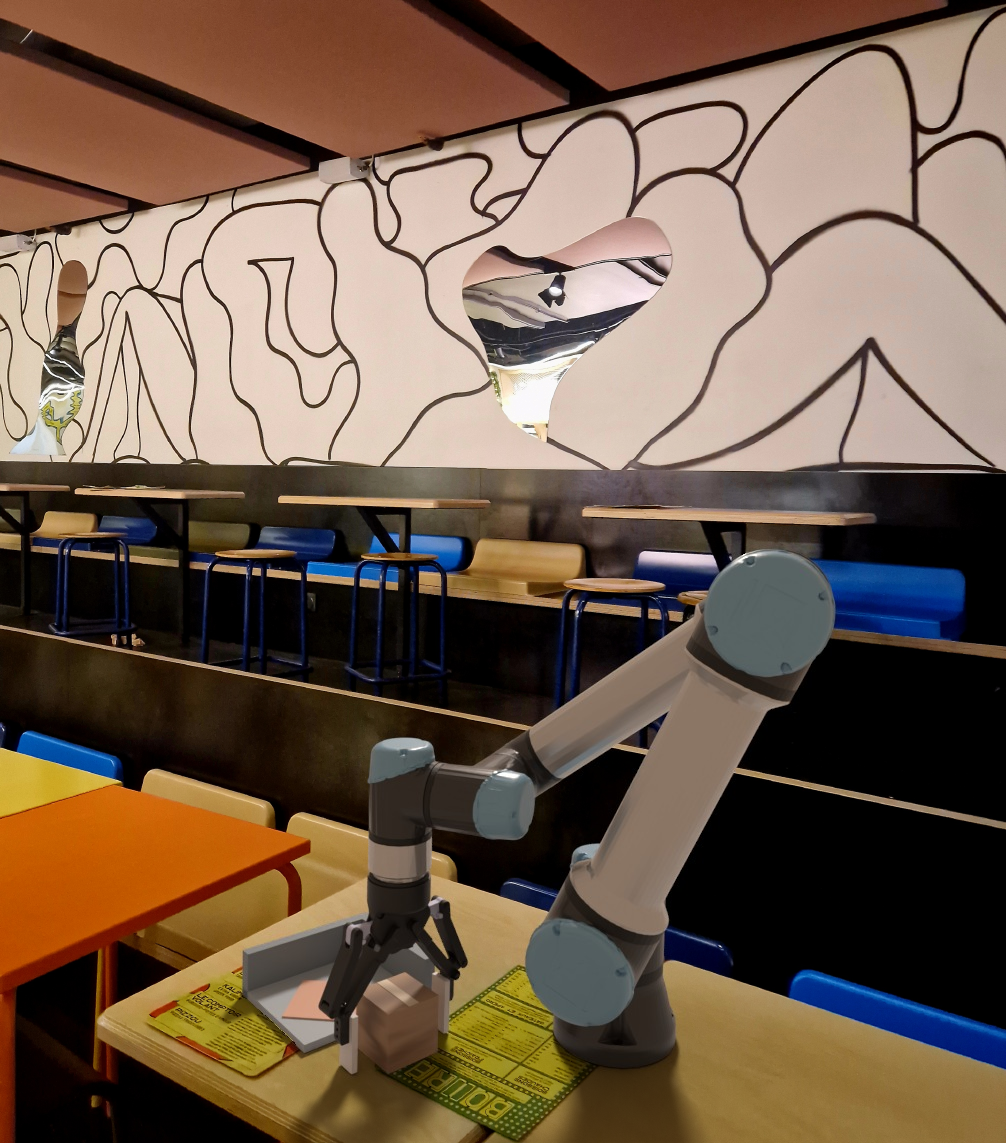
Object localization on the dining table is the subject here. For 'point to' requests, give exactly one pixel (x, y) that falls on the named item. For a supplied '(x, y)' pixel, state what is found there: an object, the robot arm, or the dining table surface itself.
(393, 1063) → the cardboard box
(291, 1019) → the tray
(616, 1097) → the dining table surface
